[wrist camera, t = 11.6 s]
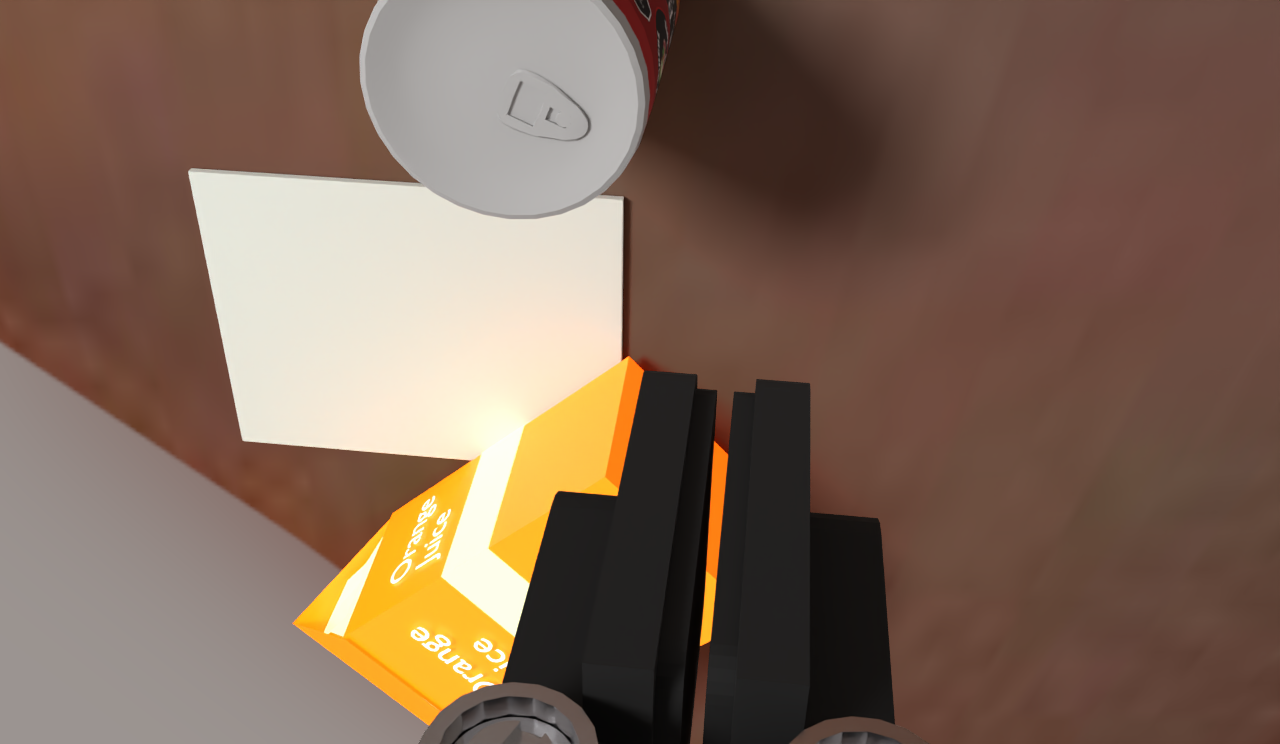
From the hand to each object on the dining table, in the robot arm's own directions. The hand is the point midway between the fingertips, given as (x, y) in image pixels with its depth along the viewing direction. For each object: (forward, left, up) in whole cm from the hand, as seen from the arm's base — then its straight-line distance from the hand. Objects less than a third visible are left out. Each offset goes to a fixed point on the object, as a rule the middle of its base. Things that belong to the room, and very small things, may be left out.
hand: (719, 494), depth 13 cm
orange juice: (+2, +22, -28) cm, 35 cm away
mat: (+13, +18, -32) cm, 39 cm away
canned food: (+7, +4, -32) cm, 33 cm away
